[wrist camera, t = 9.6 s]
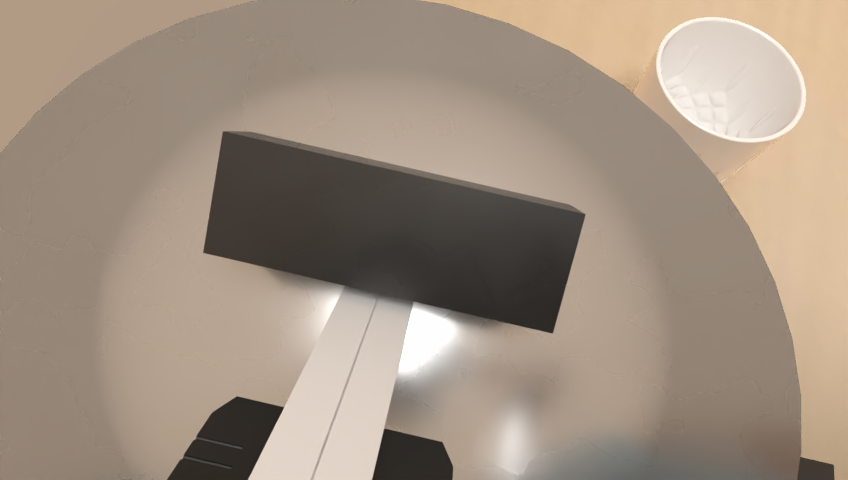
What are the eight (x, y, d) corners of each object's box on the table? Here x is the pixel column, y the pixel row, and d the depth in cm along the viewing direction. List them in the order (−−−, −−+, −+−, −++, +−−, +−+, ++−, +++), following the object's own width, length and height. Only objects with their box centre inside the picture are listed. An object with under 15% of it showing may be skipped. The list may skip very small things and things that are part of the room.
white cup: (623, 102, 43) (693, -7, 33) (725, 161, 41) (827, 65, 32) (570, 182, 40) (630, 87, 30) (678, 248, 38) (775, 170, 29)
